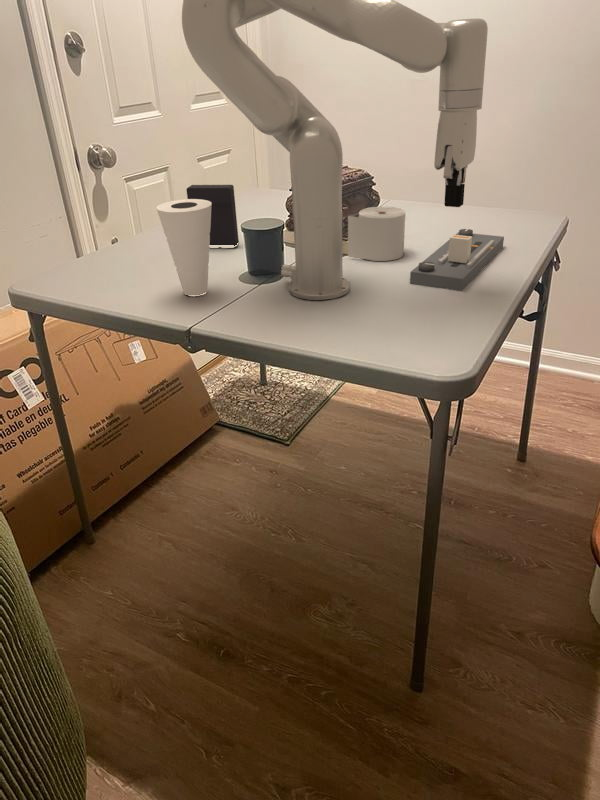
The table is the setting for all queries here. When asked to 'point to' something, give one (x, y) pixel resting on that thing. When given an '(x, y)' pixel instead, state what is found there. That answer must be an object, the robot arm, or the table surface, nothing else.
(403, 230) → the toilet tissue
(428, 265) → the console
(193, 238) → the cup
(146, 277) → the table surface
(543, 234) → the table surface
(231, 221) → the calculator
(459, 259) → the fader
